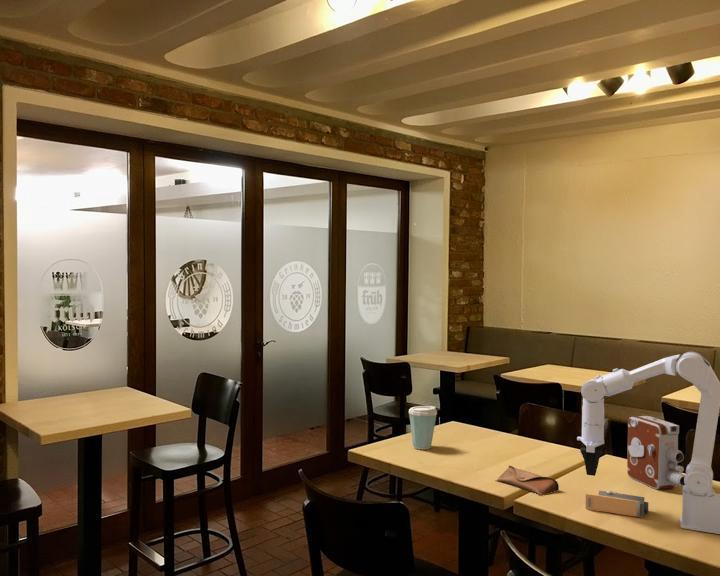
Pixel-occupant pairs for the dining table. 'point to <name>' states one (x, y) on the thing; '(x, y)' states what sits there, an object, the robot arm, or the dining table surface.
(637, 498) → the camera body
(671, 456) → the cine camera
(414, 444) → the disposable coffee cup
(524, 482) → the sunglasses case
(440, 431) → the dining table surface
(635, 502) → the side door
